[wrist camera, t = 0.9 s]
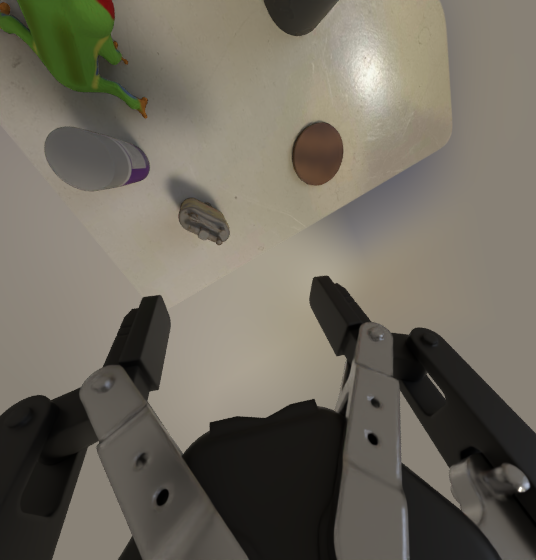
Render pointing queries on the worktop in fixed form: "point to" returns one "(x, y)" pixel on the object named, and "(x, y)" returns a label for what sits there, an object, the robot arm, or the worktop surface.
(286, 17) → the tin
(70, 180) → the container
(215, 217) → the lighter
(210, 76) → the worktop surface
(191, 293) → the worktop surface
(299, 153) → the disc
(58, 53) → the toy
